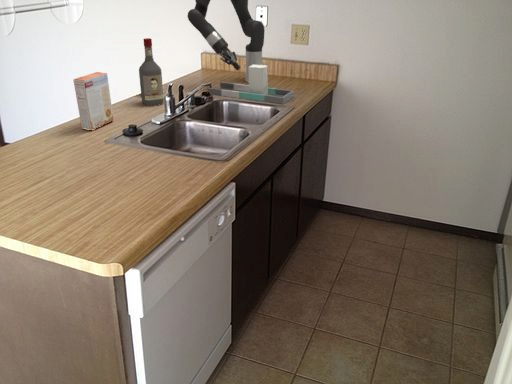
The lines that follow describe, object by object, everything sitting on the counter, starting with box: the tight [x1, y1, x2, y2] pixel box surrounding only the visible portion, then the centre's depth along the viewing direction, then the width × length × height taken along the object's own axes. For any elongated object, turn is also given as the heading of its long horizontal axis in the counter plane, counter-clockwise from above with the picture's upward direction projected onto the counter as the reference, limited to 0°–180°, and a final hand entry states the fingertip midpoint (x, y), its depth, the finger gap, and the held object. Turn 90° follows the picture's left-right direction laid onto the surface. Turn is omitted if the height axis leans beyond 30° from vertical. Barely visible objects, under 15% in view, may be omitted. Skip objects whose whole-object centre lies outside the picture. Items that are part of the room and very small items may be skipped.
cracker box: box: [73, 71, 114, 129], centre depth 193 cm, size 14×6×21 cm, turn 157°
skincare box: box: [248, 64, 269, 95], centre depth 239 cm, size 8×7×16 cm
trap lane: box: [207, 81, 295, 105], centre depth 244 cm, size 15×42×3 cm, turn 66°
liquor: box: [138, 37, 165, 106], centre depth 222 cm, size 9×9×30 cm
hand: (238, 69), depth 242 cm, fingers closed
